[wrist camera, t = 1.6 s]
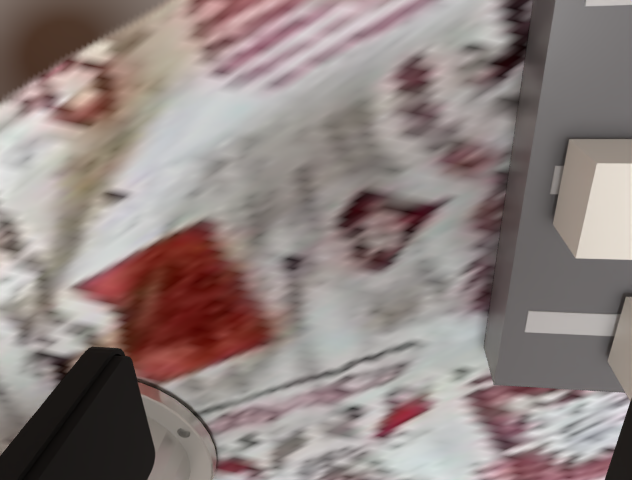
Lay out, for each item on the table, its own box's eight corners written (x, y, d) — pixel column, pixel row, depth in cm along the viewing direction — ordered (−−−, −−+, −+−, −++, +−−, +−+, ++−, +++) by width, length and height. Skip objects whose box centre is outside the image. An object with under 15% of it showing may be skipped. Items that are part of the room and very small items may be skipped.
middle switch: (630, 225, 21) (664, 260, 18) (552, 224, 21) (575, 258, 18) (653, 139, 19) (695, 164, 16) (569, 139, 19) (596, 163, 17)
